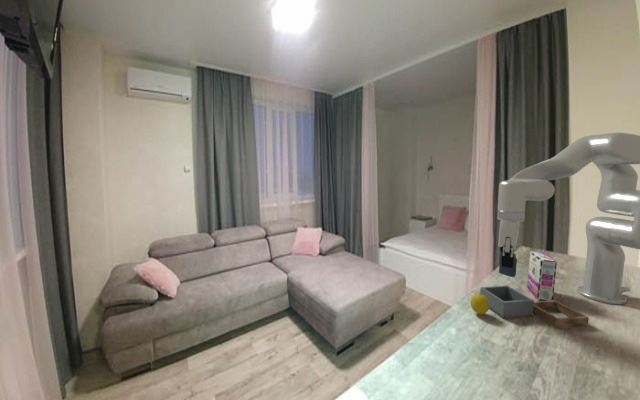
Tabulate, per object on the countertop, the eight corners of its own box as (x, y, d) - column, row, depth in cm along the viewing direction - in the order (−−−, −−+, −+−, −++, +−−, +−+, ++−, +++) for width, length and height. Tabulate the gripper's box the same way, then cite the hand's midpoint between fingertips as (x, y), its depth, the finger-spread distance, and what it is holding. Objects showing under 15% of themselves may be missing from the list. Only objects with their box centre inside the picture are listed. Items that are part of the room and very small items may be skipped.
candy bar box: (554, 302, 92) (557, 261, 90) (537, 300, 94) (540, 260, 92) (541, 289, 102) (544, 251, 100) (526, 287, 104) (529, 250, 102)
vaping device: (500, 271, 91) (502, 240, 89) (517, 276, 86) (519, 243, 84) (496, 272, 90) (498, 241, 88) (513, 277, 85) (515, 245, 83)
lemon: (491, 319, 84) (492, 298, 83) (473, 318, 85) (474, 296, 84) (484, 310, 89) (485, 290, 88) (467, 309, 90) (468, 289, 89)
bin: (506, 299, 95) (507, 285, 95) (532, 316, 84) (533, 300, 84) (479, 301, 95) (480, 287, 94) (502, 318, 84) (503, 302, 83)
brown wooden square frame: (554, 307, 89) (554, 300, 89) (587, 326, 78) (588, 317, 78) (527, 309, 88) (527, 302, 88) (557, 328, 78) (558, 320, 77)
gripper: (499, 210, 94) (497, 256, 96) (494, 218, 81) (491, 270, 84) (525, 212, 89) (521, 260, 91) (523, 221, 76) (519, 275, 79)
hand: (507, 264), depth 87 cm, fingers closed on vaping device, 3 cm apart
